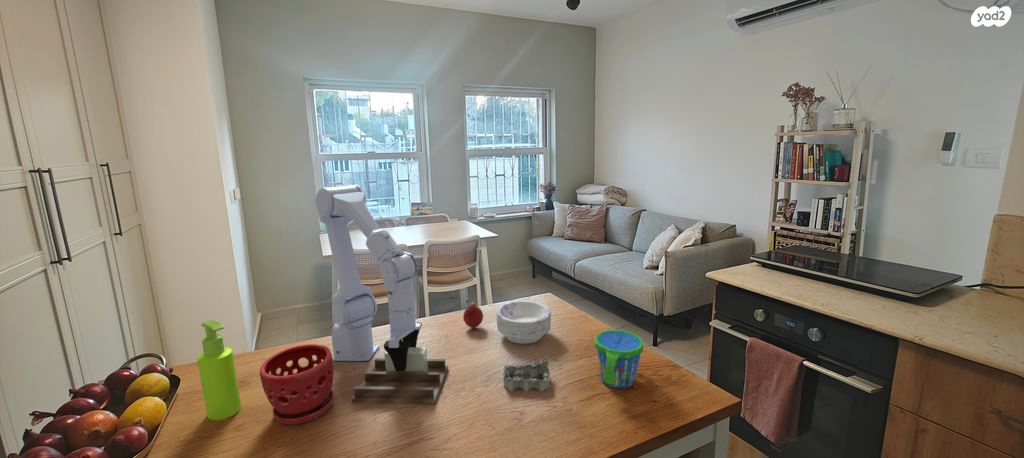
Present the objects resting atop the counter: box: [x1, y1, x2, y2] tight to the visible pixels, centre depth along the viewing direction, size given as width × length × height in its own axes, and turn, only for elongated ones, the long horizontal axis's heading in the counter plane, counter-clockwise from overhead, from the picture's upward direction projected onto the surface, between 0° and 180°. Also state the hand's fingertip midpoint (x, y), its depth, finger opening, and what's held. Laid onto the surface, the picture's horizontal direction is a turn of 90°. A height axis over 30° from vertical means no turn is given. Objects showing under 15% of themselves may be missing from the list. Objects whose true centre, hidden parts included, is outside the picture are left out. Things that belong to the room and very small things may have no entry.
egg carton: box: [502, 360, 551, 392], centre depth 97 cm, size 11×8×4 cm
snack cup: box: [594, 329, 644, 389], centre depth 96 cm, size 16×10×10 cm
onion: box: [462, 301, 484, 329], centre depth 125 cm, size 6×6×8 cm
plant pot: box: [259, 343, 335, 425], centre depth 87 cm, size 13×13×12 cm
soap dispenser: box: [196, 319, 242, 421], centre depth 86 cm, size 6×7×20 cm
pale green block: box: [384, 346, 428, 372], centre depth 99 cm, size 9×3×6 cm, turn 87°
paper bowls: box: [496, 300, 552, 345], centre depth 119 cm, size 15×15×8 cm
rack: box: [350, 357, 449, 405], centre depth 97 cm, size 18×14×3 cm
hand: (405, 361), depth 99 cm, fingers open, 7 cm apart
